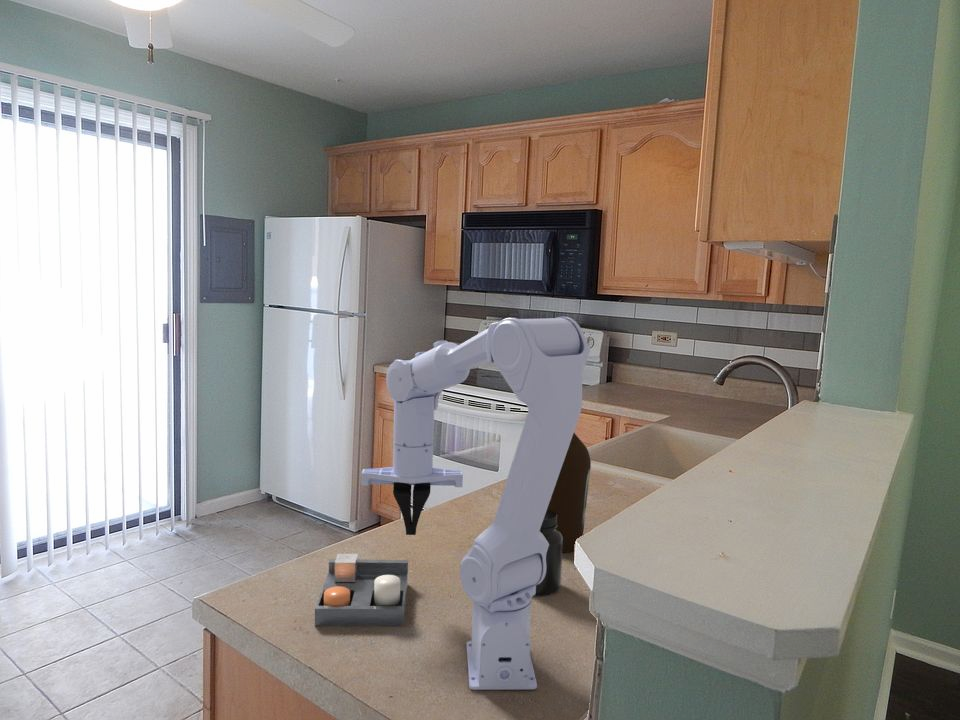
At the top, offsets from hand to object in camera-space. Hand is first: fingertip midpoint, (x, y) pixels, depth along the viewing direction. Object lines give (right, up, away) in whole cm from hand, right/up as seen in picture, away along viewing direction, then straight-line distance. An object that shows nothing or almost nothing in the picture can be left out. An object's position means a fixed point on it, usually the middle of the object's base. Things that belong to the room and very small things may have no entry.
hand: (411, 532), depth 95 cm
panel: (-7, -10, -1) cm, 12 cm away
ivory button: (-3, -9, -4) cm, 10 cm away
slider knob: (-10, -7, +2) cm, 12 cm away
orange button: (-10, -10, -4) cm, 15 cm away
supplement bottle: (+19, -11, +7) cm, 23 cm away
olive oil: (+24, -8, +24) cm, 35 cm away
